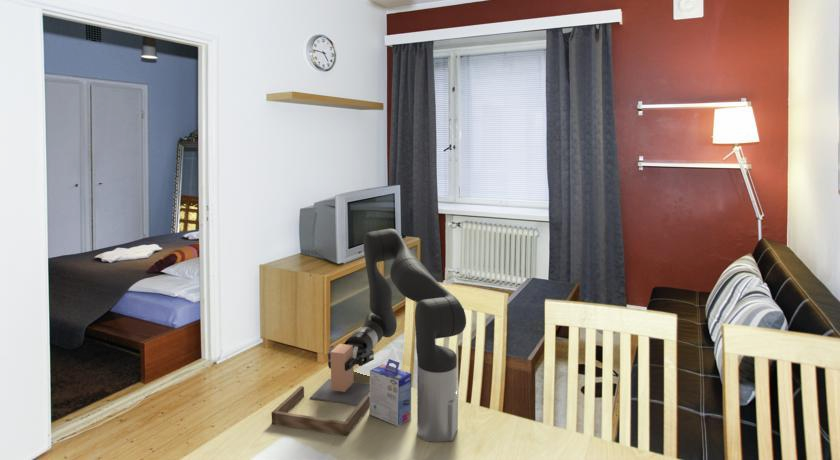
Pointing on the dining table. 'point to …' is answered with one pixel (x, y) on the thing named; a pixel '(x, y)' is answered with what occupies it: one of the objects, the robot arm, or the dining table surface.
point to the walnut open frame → (315, 423)
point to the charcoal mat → (342, 393)
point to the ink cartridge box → (390, 393)
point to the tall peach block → (341, 368)
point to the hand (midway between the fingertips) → (338, 366)
